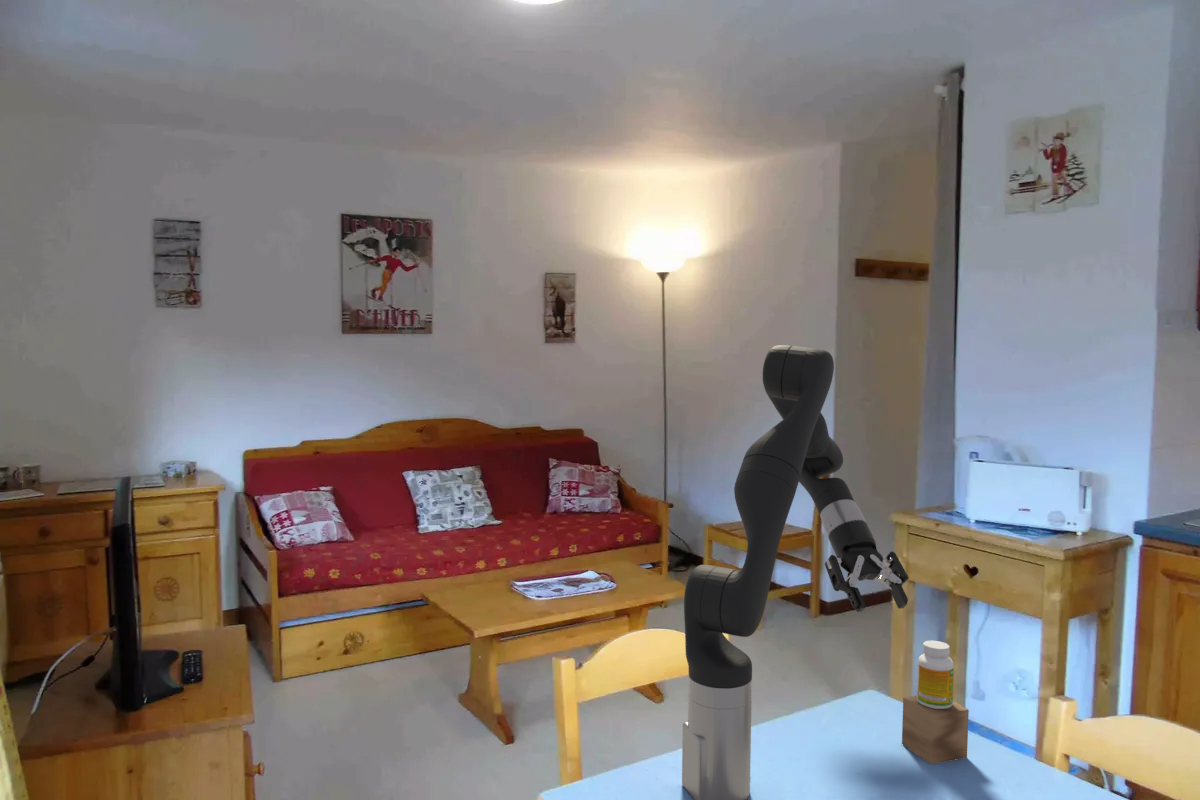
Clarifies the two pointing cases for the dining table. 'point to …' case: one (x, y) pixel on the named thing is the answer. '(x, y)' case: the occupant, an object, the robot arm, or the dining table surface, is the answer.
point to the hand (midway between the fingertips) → (882, 608)
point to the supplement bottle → (935, 676)
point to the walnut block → (935, 731)
